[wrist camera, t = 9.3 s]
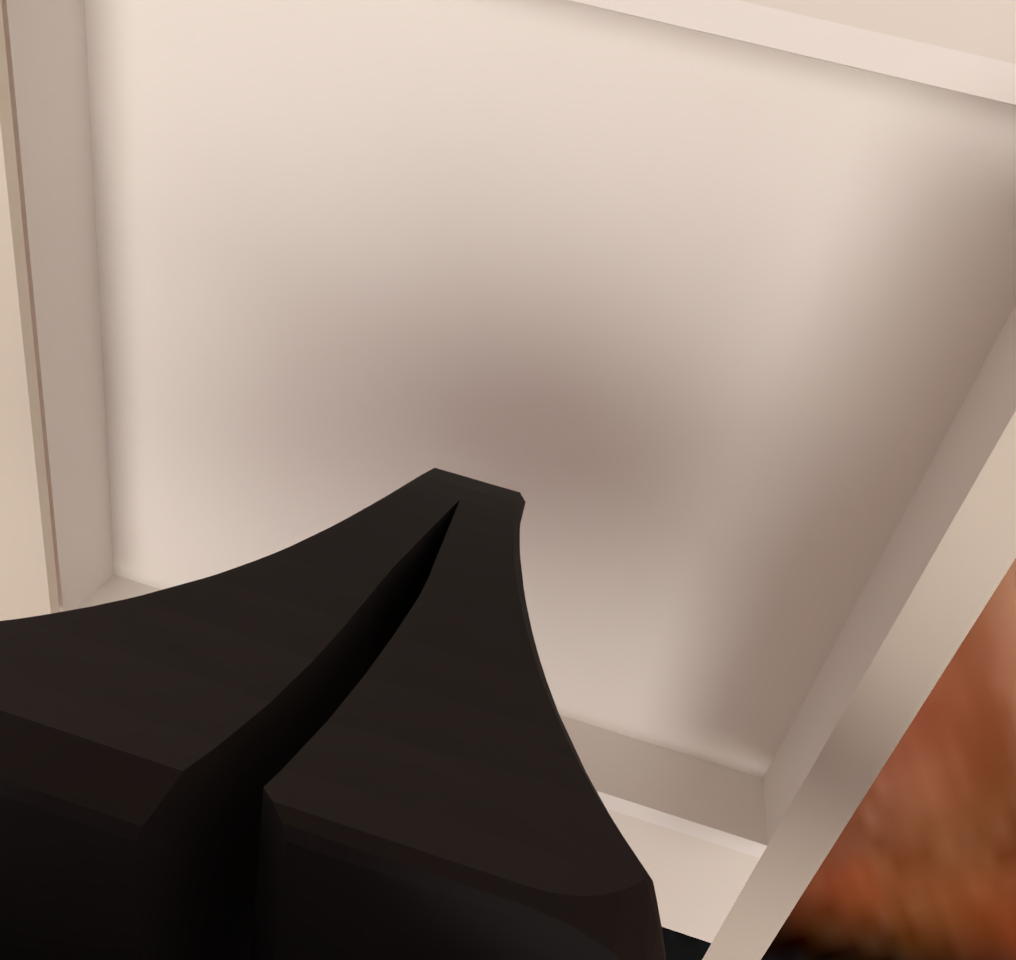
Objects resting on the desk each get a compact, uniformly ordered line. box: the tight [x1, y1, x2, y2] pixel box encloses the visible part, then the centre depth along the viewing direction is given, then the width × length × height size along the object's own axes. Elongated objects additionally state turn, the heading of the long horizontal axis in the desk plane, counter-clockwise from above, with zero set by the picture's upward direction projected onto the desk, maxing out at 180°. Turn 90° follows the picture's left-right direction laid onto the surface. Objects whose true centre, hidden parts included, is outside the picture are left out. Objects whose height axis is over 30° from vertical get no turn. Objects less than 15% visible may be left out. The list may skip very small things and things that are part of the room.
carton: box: [1, 0, 1016, 943], centre depth 14 cm, size 20×16×2 cm
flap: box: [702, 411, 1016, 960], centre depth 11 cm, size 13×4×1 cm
